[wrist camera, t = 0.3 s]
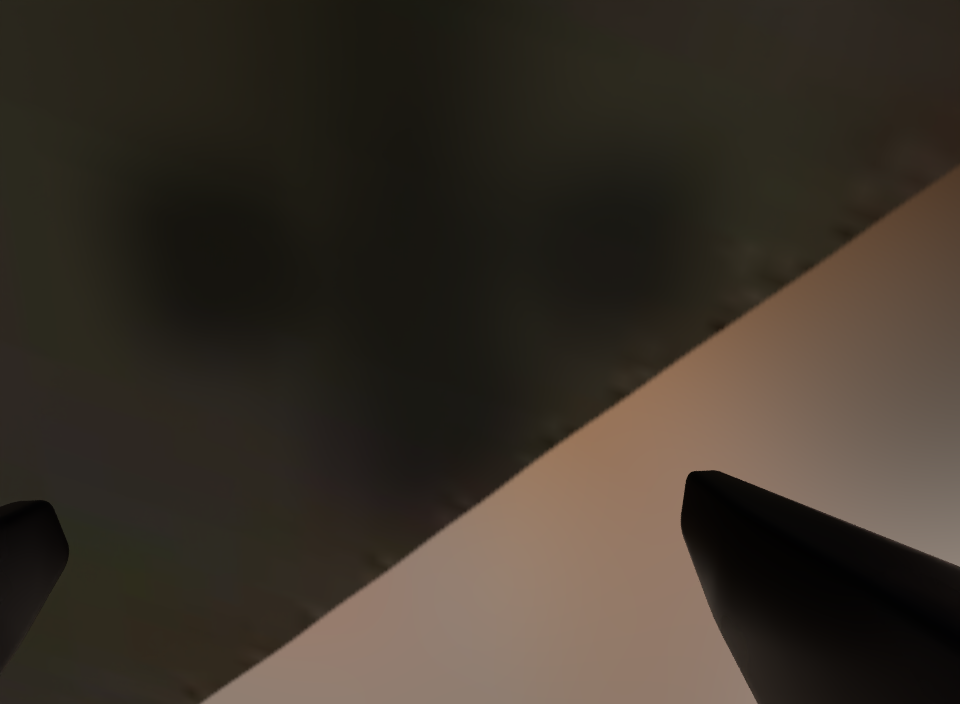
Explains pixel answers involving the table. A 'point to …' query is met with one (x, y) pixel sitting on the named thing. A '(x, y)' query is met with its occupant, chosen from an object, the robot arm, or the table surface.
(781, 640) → the robot arm
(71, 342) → the table surface
